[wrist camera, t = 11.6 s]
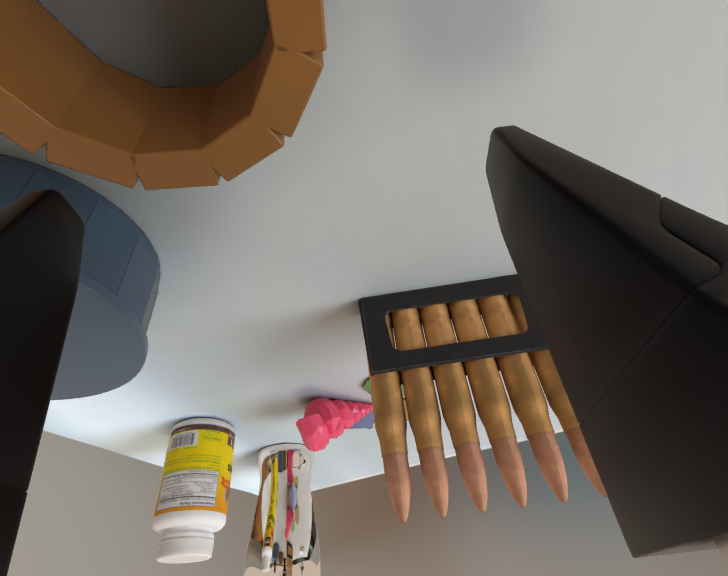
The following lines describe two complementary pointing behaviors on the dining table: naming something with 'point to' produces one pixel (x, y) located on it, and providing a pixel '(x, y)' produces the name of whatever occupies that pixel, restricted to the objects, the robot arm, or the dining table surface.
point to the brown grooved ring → (153, 102)
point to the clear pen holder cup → (284, 515)
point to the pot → (95, 235)
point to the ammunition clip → (466, 388)
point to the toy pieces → (335, 419)
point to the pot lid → (99, 344)
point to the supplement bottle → (193, 489)
